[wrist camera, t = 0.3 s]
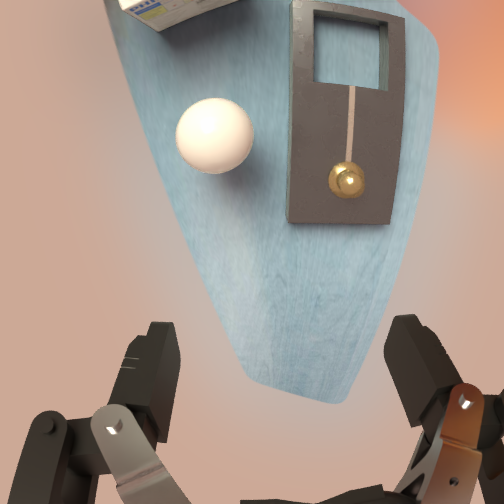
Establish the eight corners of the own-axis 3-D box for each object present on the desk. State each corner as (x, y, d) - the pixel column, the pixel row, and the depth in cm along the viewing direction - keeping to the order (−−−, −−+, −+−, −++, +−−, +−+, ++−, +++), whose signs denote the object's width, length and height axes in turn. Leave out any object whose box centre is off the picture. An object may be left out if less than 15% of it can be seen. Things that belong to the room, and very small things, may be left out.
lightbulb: (264, 126, 31) (273, 140, 22) (222, 167, 33) (211, 199, 24) (221, 85, 29) (209, 80, 19) (179, 128, 31) (150, 143, 21)
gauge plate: (289, 5, 25) (296, -9, 20) (394, 22, 25) (415, 14, 21) (285, 214, 36) (291, 232, 32) (381, 216, 36) (398, 233, 32)
